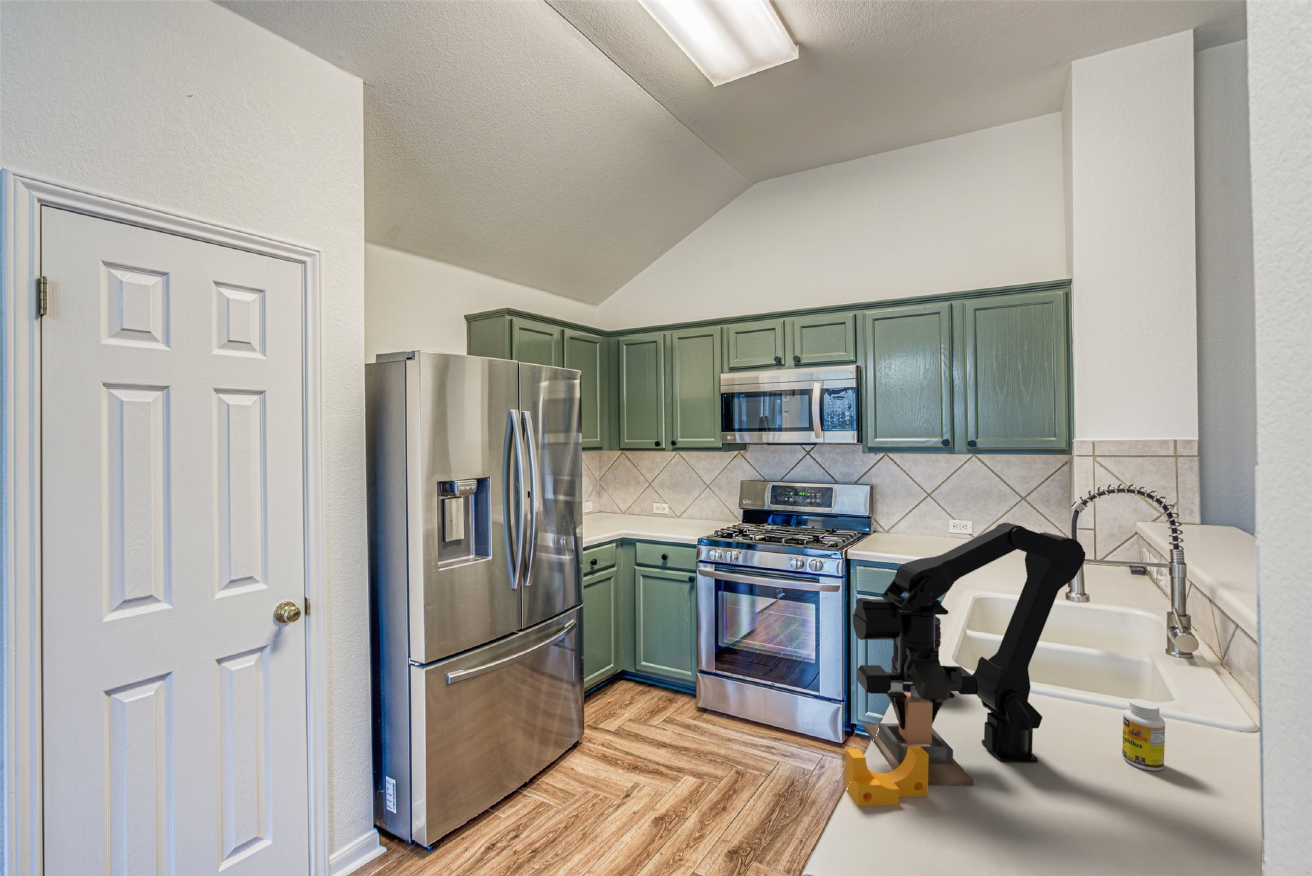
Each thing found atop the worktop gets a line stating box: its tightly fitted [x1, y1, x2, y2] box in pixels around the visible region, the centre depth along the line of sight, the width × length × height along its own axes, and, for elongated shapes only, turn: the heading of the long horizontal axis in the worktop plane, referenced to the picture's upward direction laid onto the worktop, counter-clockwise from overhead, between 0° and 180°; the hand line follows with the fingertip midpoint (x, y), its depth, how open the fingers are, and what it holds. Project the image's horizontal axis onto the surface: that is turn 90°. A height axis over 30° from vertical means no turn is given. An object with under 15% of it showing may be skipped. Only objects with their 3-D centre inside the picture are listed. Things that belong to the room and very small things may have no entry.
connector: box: [899, 686, 933, 744], centre depth 106 cm, size 4×4×9 cm
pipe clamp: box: [845, 746, 929, 808], centre depth 94 cm, size 12×4×6 cm, turn 96°
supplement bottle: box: [1121, 698, 1166, 772], centre depth 104 cm, size 6×6×10 cm
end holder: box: [863, 722, 974, 786], centre depth 106 cm, size 11×18×3 cm, turn 0°
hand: (914, 728), depth 106 cm, fingers closed on connector, 4 cm apart
